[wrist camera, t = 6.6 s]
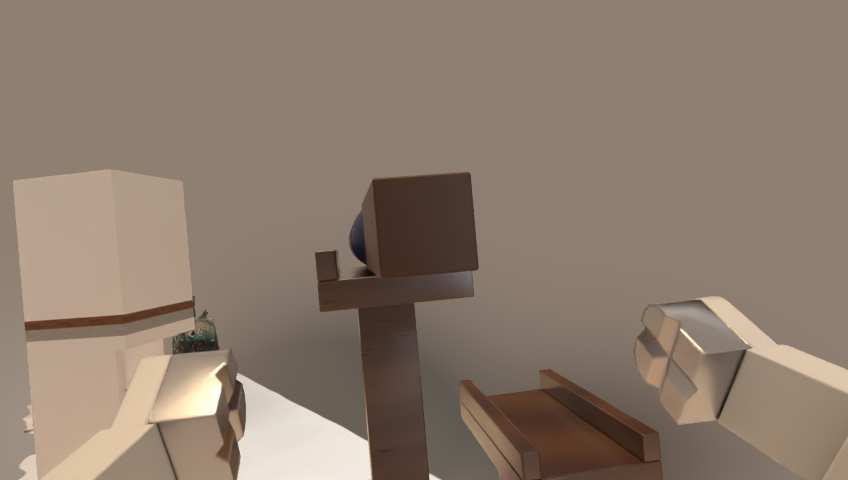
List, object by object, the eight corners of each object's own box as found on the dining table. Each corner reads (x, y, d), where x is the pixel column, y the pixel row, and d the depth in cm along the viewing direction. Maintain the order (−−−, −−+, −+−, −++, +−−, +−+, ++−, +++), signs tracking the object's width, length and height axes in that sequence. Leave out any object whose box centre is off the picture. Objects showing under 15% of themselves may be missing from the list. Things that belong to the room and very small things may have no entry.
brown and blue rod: (496, 285, 13) (485, 154, 13) (364, 298, 12) (353, 162, 12) (398, 261, 36) (394, 214, 36) (350, 266, 35) (346, 218, 35)
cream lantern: (142, 536, 50) (111, 169, 50) (42, 537, 51) (12, 180, 51) (207, 481, 61) (182, 181, 61) (124, 482, 63) (100, 190, 63)
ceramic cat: (228, 426, 80) (217, 296, 81) (182, 437, 77) (170, 301, 77) (211, 397, 98) (202, 290, 98) (173, 405, 95) (163, 295, 95)
